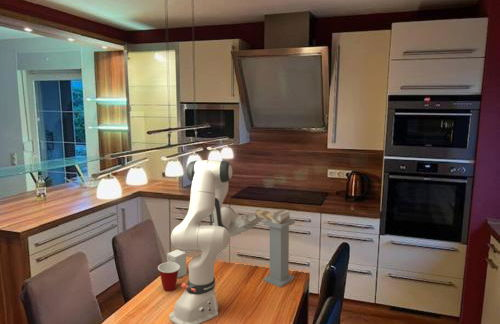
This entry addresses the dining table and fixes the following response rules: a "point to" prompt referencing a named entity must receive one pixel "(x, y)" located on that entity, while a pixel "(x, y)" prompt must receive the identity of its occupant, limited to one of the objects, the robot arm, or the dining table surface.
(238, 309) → the dining table surface
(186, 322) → the robot arm
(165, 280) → the plastic cup
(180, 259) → the supplement box
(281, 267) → the pedestal shelf
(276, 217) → the mallet
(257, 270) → the dining table surface
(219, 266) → the dining table surface
